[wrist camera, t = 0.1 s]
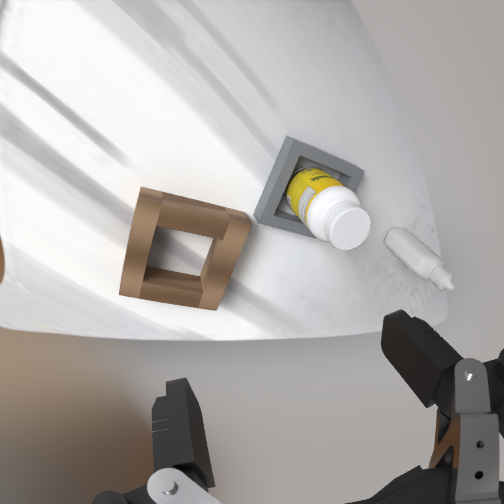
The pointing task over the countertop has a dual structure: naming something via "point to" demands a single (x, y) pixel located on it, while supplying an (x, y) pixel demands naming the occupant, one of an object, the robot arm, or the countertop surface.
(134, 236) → the socket block
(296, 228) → the holder
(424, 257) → the eye dropper bottle
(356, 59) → the countertop surface
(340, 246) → the supplement bottle
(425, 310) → the countertop surface
